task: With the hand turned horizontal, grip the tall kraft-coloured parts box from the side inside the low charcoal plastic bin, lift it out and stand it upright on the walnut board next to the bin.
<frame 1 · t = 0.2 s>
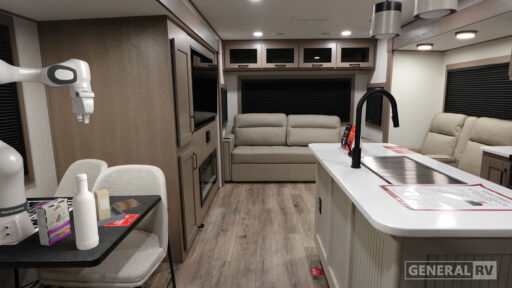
hand: (83, 122, 140), 47 cm above the table, tool pointing down, fingers open, 8 cm apart
bottle: (88, 245, 118), on the table
candy bar box: (56, 239, 123), on the table
parts box: (103, 218, 142), resting on parts bin
parts bin: (103, 219, 142), on the table
walnut board: (126, 205, 159), on the table
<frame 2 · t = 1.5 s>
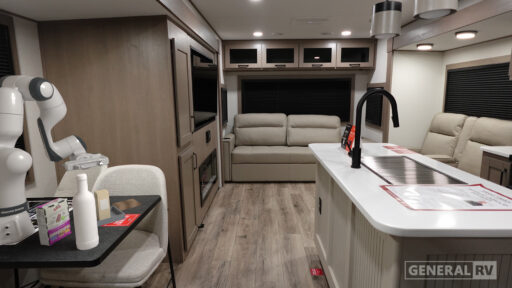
hand: (91, 166, 147), 25 cm above the table, tool horizontal, fingers open, 8 cm apart
nothing on the table moved.
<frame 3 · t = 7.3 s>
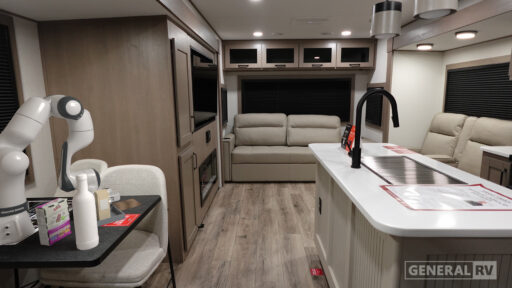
hand: (102, 204, 140), 8 cm above the table, tool horizontal, fingers closed on parts box, 5 cm apart
parts box: (103, 218, 142), point 1 cm above the table, touching gripper, parts bin
everything else where it was.
when the fingers open (10 cm above the table, at t = 13.7 s): parts box drops 1 cm, resting on walnut board.
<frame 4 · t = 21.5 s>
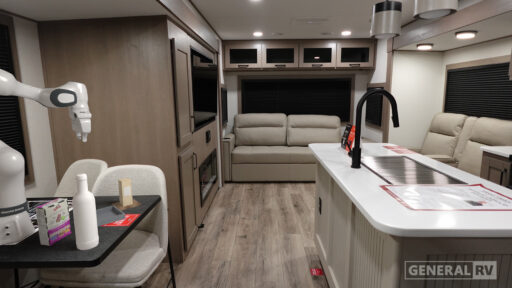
hand: (81, 140, 150), 37 cm above the table, tool pointing down, fingers open, 8 cm apart
parts box: (126, 204, 159), point 1 cm above the table, touching walnut board
everything else where it was.
at the end: parts box inside the target area on the walnut board (0.1 cm from its centre), point 1.0 cm above the walnut board's base; parts box tilted 0°; the gripper is holding nothing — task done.
